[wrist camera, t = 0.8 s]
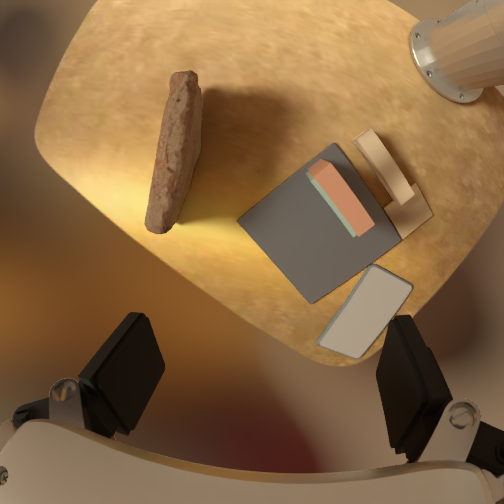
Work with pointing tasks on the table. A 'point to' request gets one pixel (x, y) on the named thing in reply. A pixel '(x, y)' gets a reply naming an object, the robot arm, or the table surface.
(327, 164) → the tile
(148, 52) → the table surface
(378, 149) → the turner
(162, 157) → the stone
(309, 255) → the mat
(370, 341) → the smartphone
